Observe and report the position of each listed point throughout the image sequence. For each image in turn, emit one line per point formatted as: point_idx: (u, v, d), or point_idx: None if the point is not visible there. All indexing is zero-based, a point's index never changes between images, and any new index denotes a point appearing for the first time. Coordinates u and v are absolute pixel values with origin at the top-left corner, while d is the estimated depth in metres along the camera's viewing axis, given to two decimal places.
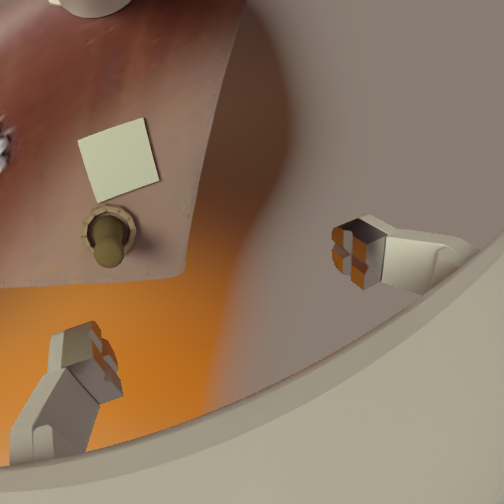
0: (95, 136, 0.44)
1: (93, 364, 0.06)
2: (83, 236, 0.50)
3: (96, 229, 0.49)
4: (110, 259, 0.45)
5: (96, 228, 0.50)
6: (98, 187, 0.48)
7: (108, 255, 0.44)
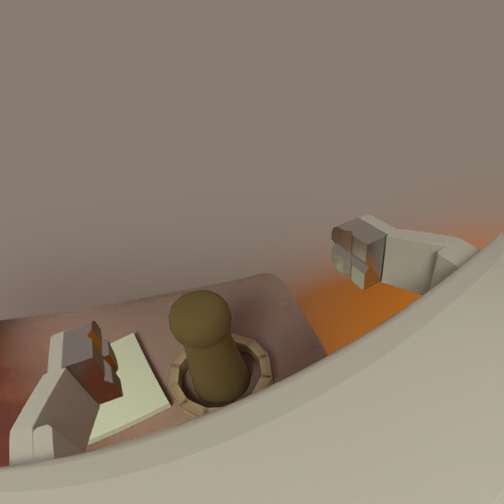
0: None
1: (93, 364, 0.06)
2: None
3: (205, 386, 0.26)
4: (199, 301, 0.24)
5: (205, 387, 0.27)
6: (142, 406, 0.27)
7: (191, 305, 0.24)
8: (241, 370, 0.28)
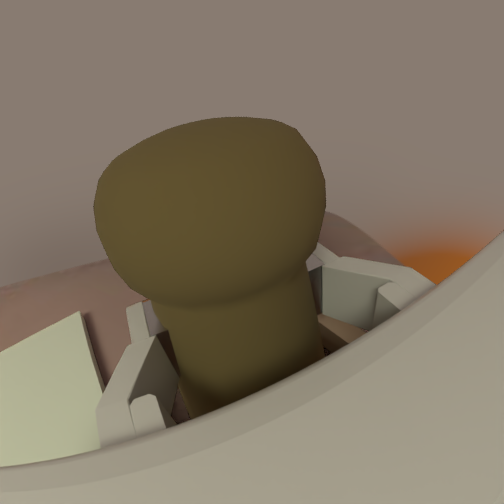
0: None
1: None
2: None
3: None
4: (211, 121, 0.06)
5: None
6: None
7: (179, 130, 0.06)
8: None
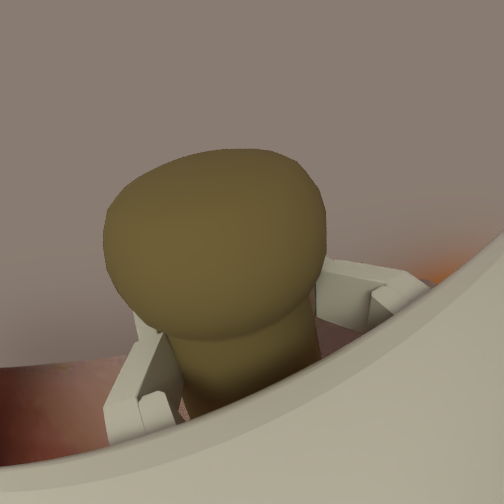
0: None
1: None
2: None
3: None
4: (215, 155, 0.07)
5: None
6: None
7: (186, 166, 0.06)
8: None
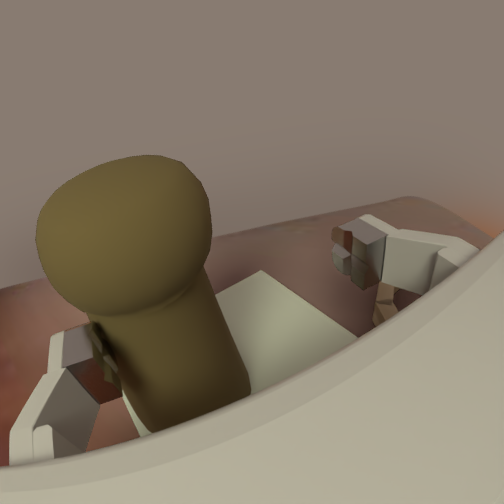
0: None
1: (93, 364, 0.06)
2: None
3: (156, 413, 0.10)
4: (120, 166, 0.07)
5: (157, 417, 0.10)
6: None
7: (94, 177, 0.07)
8: (236, 368, 0.12)
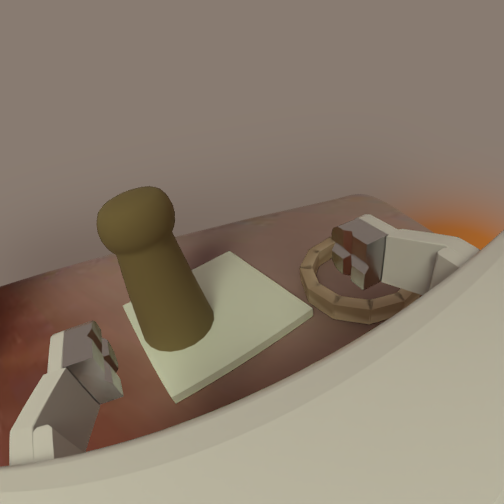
0: (160, 363, 0.20)
1: (93, 364, 0.06)
2: (399, 297, 0.21)
3: (153, 322, 0.20)
4: (132, 192, 0.18)
5: (154, 325, 0.20)
6: (275, 319, 0.22)
7: (122, 197, 0.18)
8: (198, 297, 0.22)
